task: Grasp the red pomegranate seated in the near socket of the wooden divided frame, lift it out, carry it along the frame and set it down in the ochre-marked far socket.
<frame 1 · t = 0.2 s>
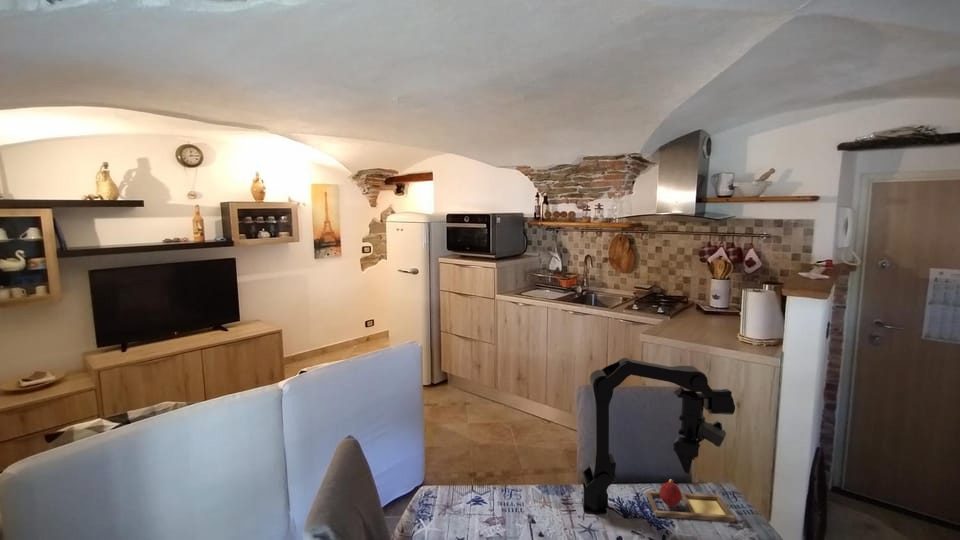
hand: (689, 466, 129), 13 cm above the table, fingers open, 9 cm apart
wooden divided frame: (688, 507, 132), on the table
red pomegranate: (670, 507, 133), resting in wooden divided frame
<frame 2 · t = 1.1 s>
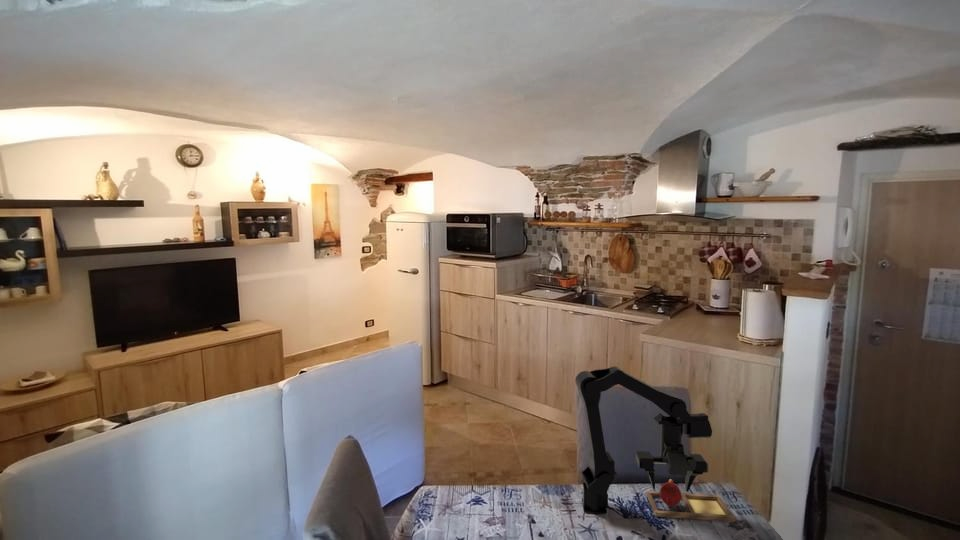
hand: (670, 489, 132), 5 cm above the table, fingers open, 9 cm apart
nothing on the table moved.
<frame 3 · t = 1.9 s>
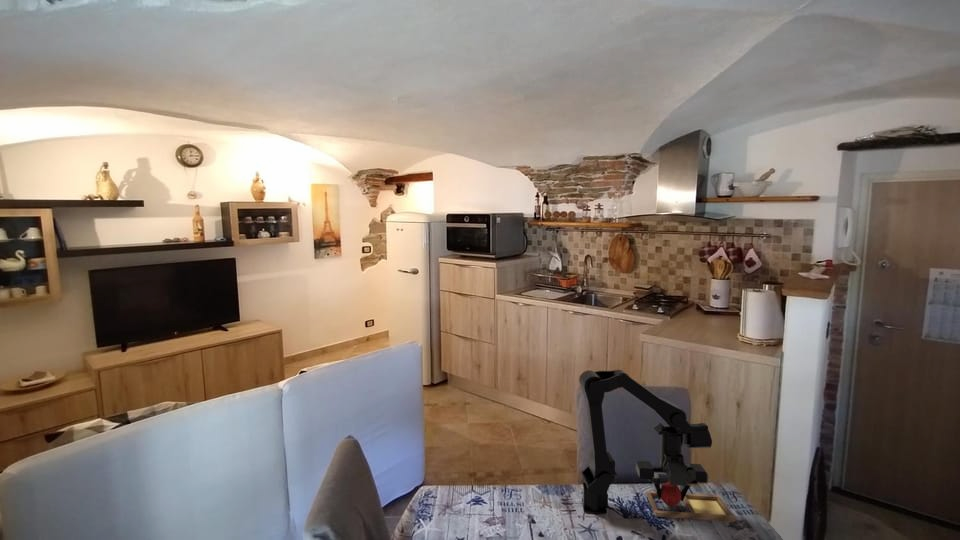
hand: (670, 499, 132), 2 cm above the table, fingers closed on red pomegranate, 6 cm apart
red pomegranate: (670, 507, 133), resting in wooden divided frame, touching gripper
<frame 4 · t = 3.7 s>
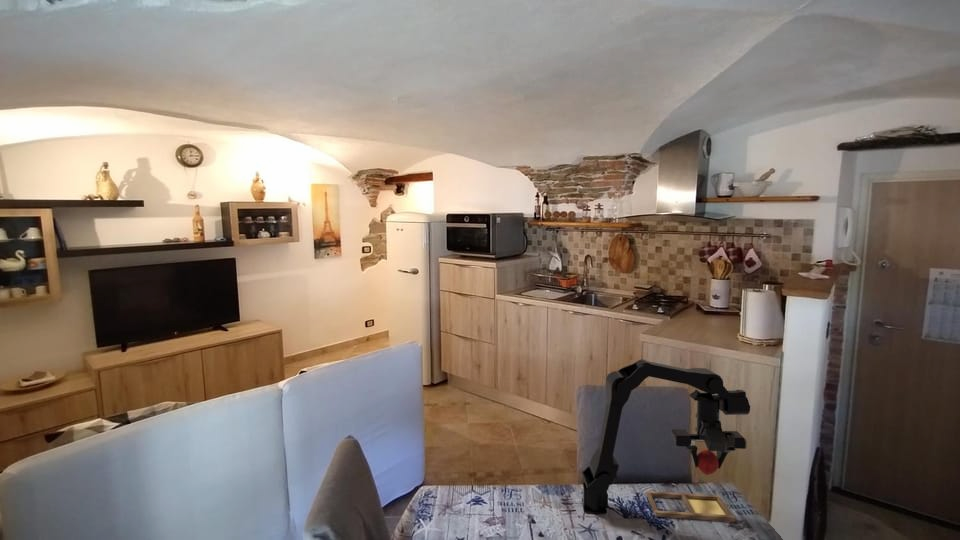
hand: (707, 467, 131), 12 cm above the table, fingers closed on red pomegranate, 6 cm apart
red pomegranate: (706, 475, 131), point 10 cm above the table, touching gripper
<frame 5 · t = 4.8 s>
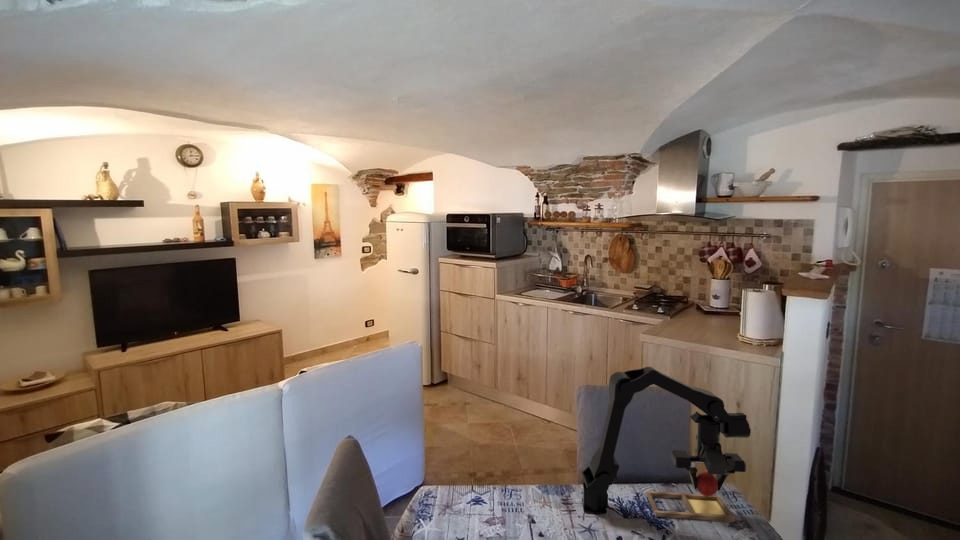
hand: (706, 489, 131), 6 cm above the table, fingers closed on red pomegranate, 6 cm apart
red pomegranate: (705, 497, 131), point 3 cm above the table, touching gripper
when the fingers open (3 cm above the table, at t = 5.8 s): red pomegranate stays where it is, resting on wooden divided frame.
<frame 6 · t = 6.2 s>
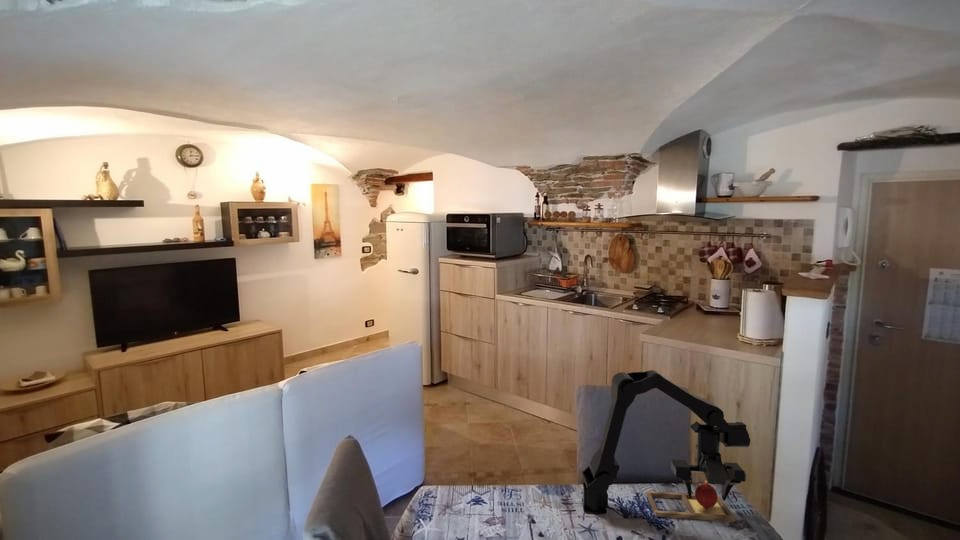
hand: (706, 498, 131), 3 cm above the table, fingers open, 9 cm apart
red pomegranate: (705, 508, 131), resting on wooden divided frame
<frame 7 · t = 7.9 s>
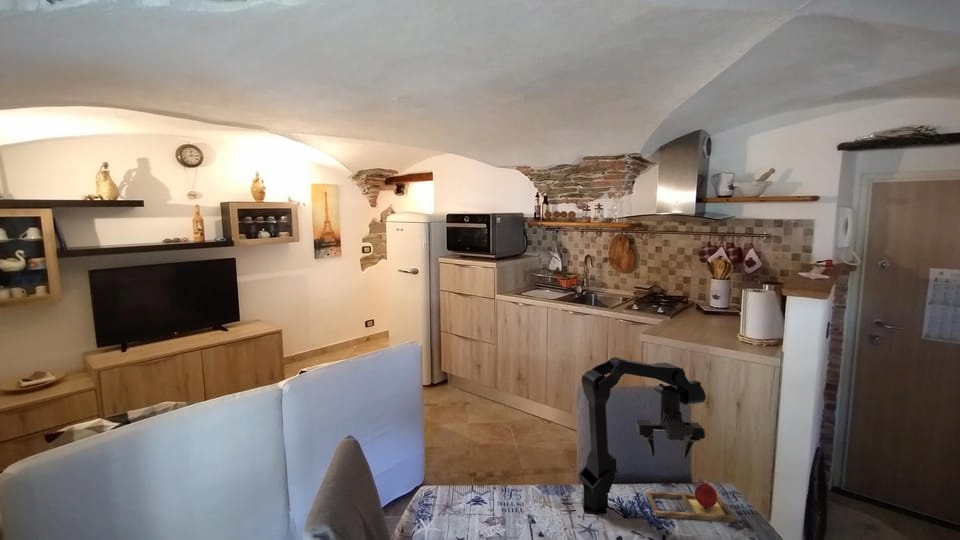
hand: (668, 456, 138), 12 cm above the table, fingers open, 9 cm apart
nothing on the table moved.
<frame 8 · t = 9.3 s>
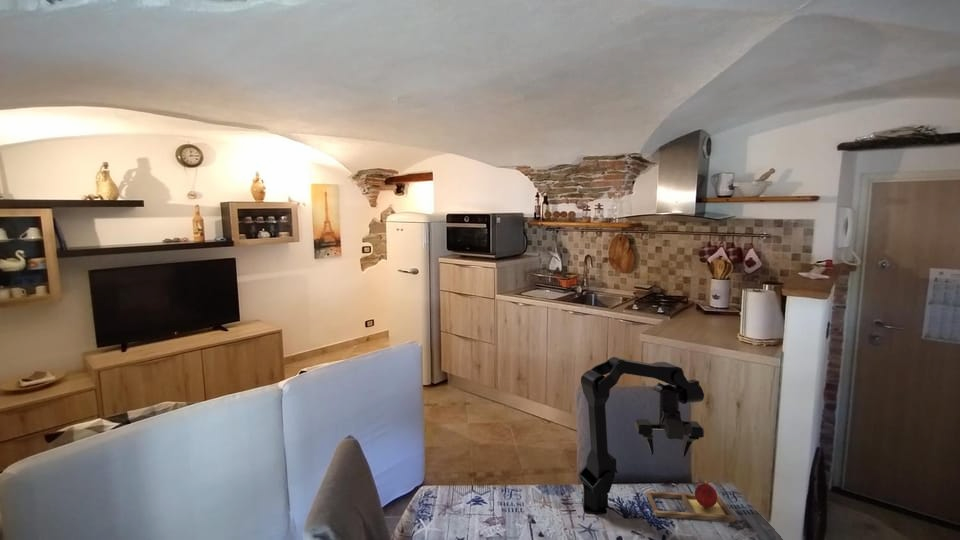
hand: (667, 455, 139), 12 cm above the table, fingers open, 9 cm apart
nothing on the table moved.
at the end: red pomegranate 0.2 cm from the target spot on the wooden divided frame, point 0.0 cm above the wooden divided frame's base; the gripper is holding nothing; red pomegranate resting on wooden divided frame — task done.
